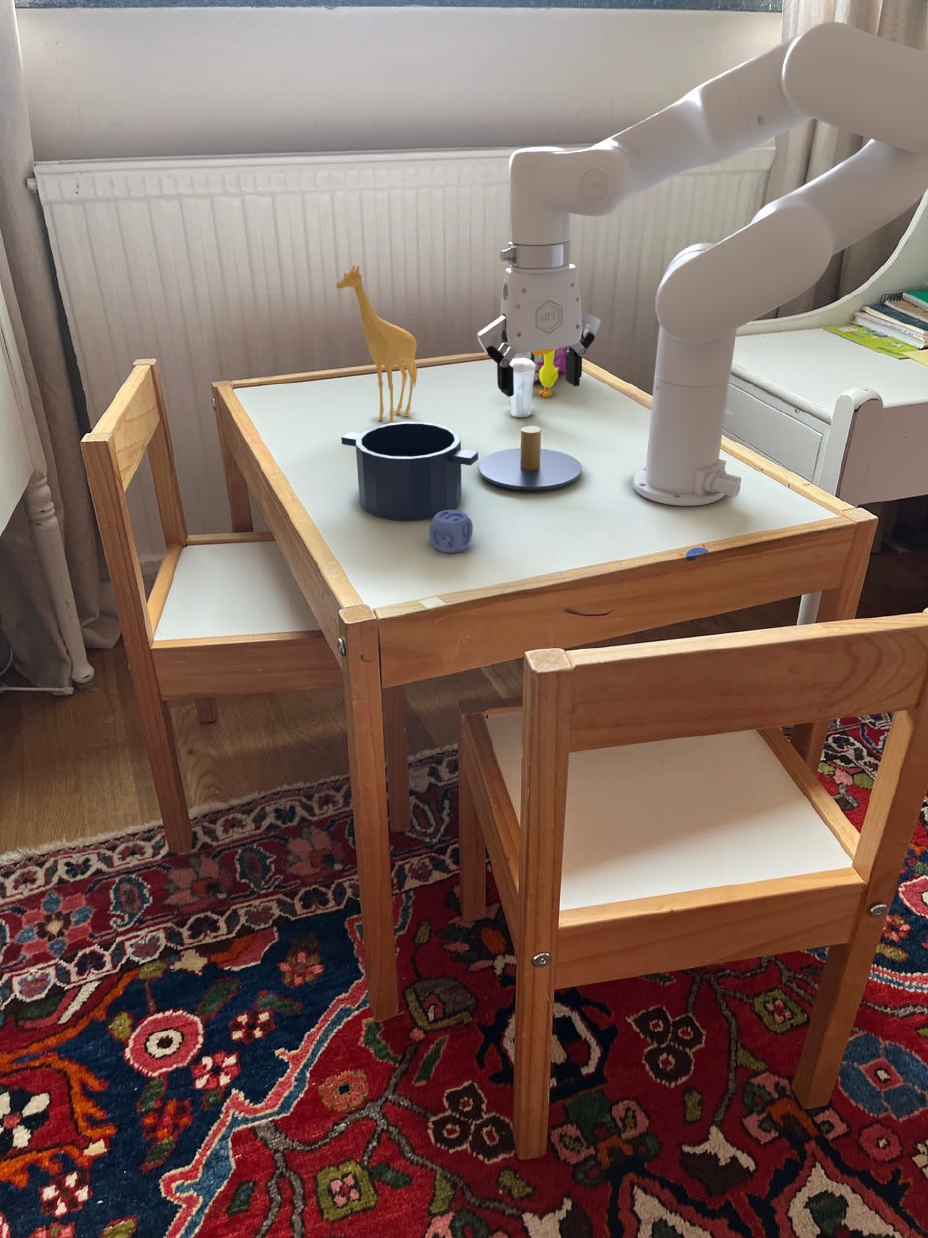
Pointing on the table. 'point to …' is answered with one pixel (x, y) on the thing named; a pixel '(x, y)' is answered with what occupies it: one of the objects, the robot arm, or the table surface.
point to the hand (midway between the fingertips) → (539, 388)
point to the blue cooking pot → (409, 469)
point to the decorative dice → (451, 531)
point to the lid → (530, 465)
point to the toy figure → (547, 371)
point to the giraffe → (384, 344)
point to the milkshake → (522, 387)
